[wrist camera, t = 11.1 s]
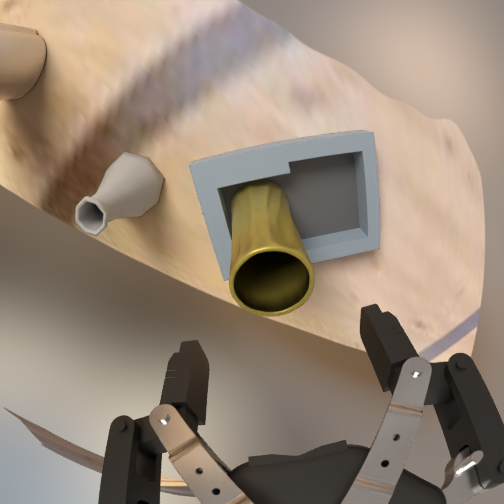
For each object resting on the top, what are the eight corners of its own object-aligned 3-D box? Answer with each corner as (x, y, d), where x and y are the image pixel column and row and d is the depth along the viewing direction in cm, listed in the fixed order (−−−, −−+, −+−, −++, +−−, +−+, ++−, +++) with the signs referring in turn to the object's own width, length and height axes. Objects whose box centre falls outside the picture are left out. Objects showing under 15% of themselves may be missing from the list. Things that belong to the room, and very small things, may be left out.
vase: (287, 232, 30) (316, 319, 18) (232, 234, 30) (225, 324, 18) (288, 178, 28) (326, 237, 15) (229, 180, 27) (216, 241, 15)
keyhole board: (194, 160, 27) (189, 165, 24) (361, 129, 25) (373, 132, 23) (225, 266, 33) (224, 280, 30) (369, 237, 31) (379, 248, 29)
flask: (175, 174, 27) (144, 205, 19) (144, 225, 30) (110, 271, 21) (123, 140, 25) (73, 156, 16) (96, 193, 28) (48, 228, 19)
